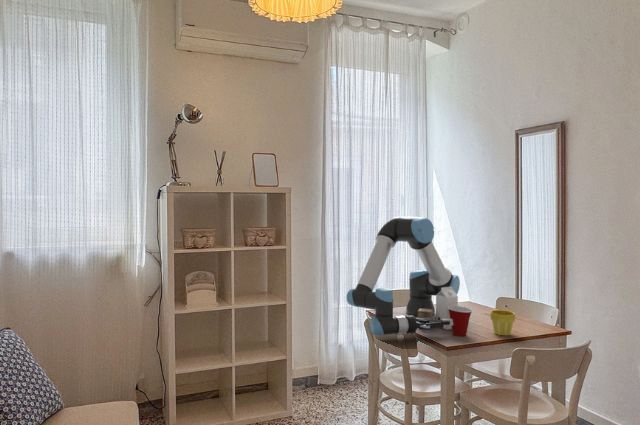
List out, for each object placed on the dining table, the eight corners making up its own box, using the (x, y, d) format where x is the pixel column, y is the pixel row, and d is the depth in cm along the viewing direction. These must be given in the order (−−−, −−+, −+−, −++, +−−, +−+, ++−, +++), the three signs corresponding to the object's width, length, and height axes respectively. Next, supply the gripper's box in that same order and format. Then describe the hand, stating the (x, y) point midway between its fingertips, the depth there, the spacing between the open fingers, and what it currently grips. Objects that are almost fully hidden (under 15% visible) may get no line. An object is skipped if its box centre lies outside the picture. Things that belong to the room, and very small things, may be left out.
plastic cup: (474, 338, 202) (474, 310, 202) (448, 337, 203) (448, 309, 203) (470, 332, 212) (471, 305, 212) (446, 330, 214) (446, 304, 214)
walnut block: (417, 327, 220) (417, 310, 219) (419, 324, 225) (419, 308, 225) (430, 329, 217) (430, 311, 217) (432, 326, 223) (432, 309, 223)
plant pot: (519, 337, 204) (519, 314, 204) (496, 337, 204) (496, 315, 203) (508, 330, 214) (508, 309, 214) (486, 331, 214) (486, 309, 214)
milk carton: (435, 326, 222) (435, 286, 222) (446, 324, 225) (446, 285, 225) (446, 330, 216) (446, 288, 215) (457, 328, 219) (458, 287, 219)
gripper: (399, 329, 208) (447, 326, 213) (411, 337, 195) (462, 334, 201) (399, 312, 208) (447, 310, 213) (411, 319, 195) (462, 316, 201)
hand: (454, 321), depth 207 cm, fingers closed
